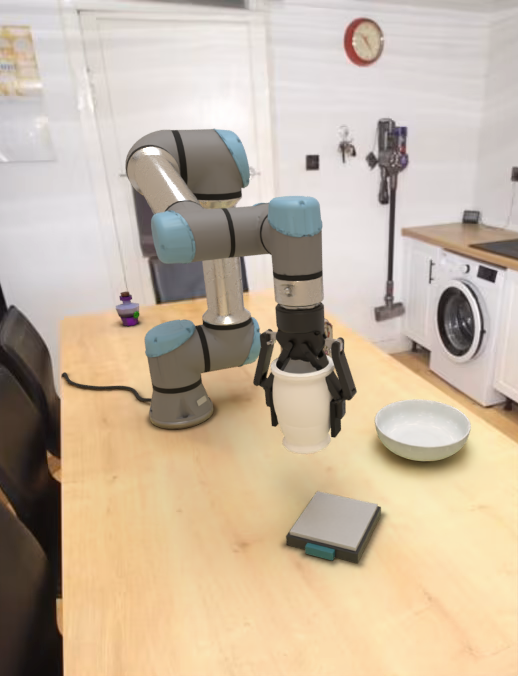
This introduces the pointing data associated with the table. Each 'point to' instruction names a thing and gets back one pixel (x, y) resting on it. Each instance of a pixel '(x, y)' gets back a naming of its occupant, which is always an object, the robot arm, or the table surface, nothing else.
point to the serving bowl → (422, 429)
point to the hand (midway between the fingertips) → (306, 428)
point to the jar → (303, 405)
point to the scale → (334, 527)
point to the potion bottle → (128, 310)
